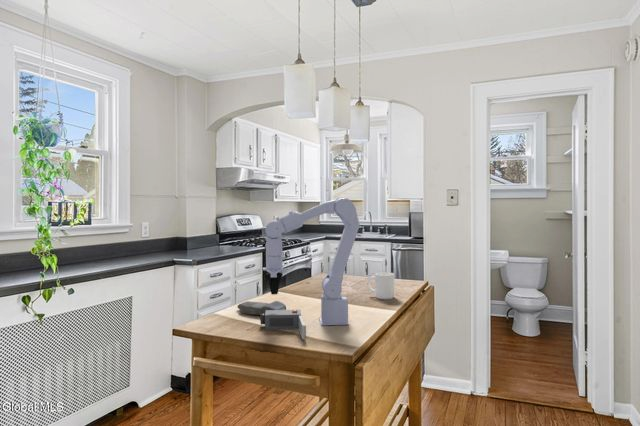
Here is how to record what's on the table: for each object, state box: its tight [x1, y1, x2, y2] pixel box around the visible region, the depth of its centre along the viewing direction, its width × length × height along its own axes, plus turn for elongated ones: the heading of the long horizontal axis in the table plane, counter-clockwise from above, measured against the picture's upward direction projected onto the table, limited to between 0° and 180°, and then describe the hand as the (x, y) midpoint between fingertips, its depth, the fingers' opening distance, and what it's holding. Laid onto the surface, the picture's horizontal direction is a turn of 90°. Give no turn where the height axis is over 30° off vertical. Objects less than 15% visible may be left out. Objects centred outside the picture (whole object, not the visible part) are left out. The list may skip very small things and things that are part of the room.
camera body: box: [260, 309, 302, 331], centre depth 148 cm, size 14×6×6 cm, turn 94°
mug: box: [366, 271, 395, 300], centre depth 190 cm, size 12×8×10 cm
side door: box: [298, 314, 307, 340], centre depth 140 cm, size 11×1×5 cm, turn 9°
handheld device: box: [236, 300, 287, 316], centre depth 165 cm, size 10×20×5 cm, turn 63°
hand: (274, 294), depth 151 cm, fingers closed
